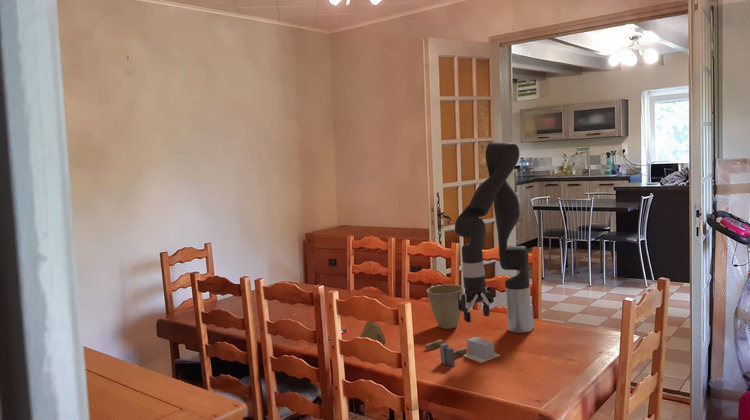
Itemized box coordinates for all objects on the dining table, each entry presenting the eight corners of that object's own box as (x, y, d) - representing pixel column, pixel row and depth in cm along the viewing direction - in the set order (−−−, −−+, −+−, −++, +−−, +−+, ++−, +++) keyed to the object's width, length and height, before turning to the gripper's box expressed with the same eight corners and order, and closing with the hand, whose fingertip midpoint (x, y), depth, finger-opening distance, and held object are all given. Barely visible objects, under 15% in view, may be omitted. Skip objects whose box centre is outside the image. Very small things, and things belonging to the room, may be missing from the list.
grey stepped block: (445, 361, 197) (444, 343, 196) (455, 365, 192) (454, 346, 192) (441, 363, 195) (439, 344, 195) (451, 367, 191) (449, 348, 190)
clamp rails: (440, 344, 214) (440, 339, 214) (467, 353, 202) (466, 348, 202) (425, 349, 210) (424, 344, 210) (451, 359, 198) (450, 354, 198)
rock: (393, 339, 218) (383, 329, 227) (380, 325, 215) (370, 315, 224) (373, 359, 217) (363, 348, 226) (359, 346, 213) (350, 335, 222)
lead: (476, 350, 204) (475, 336, 203) (494, 356, 196) (493, 342, 196) (468, 353, 201) (467, 339, 201) (486, 359, 194) (485, 345, 193)
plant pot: (440, 319, 245) (437, 283, 244) (472, 323, 237) (469, 285, 235) (423, 329, 233) (420, 292, 232) (455, 333, 225) (452, 294, 223)
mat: (481, 349, 205) (481, 348, 205) (500, 355, 197) (499, 354, 197) (463, 356, 200) (463, 355, 200) (481, 362, 192) (481, 361, 192)
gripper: (465, 280, 189) (469, 326, 191) (496, 271, 196) (499, 316, 199) (450, 276, 195) (454, 321, 197) (481, 268, 203) (485, 311, 205)
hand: (477, 318), depth 198 cm, fingers open, 8 cm apart
